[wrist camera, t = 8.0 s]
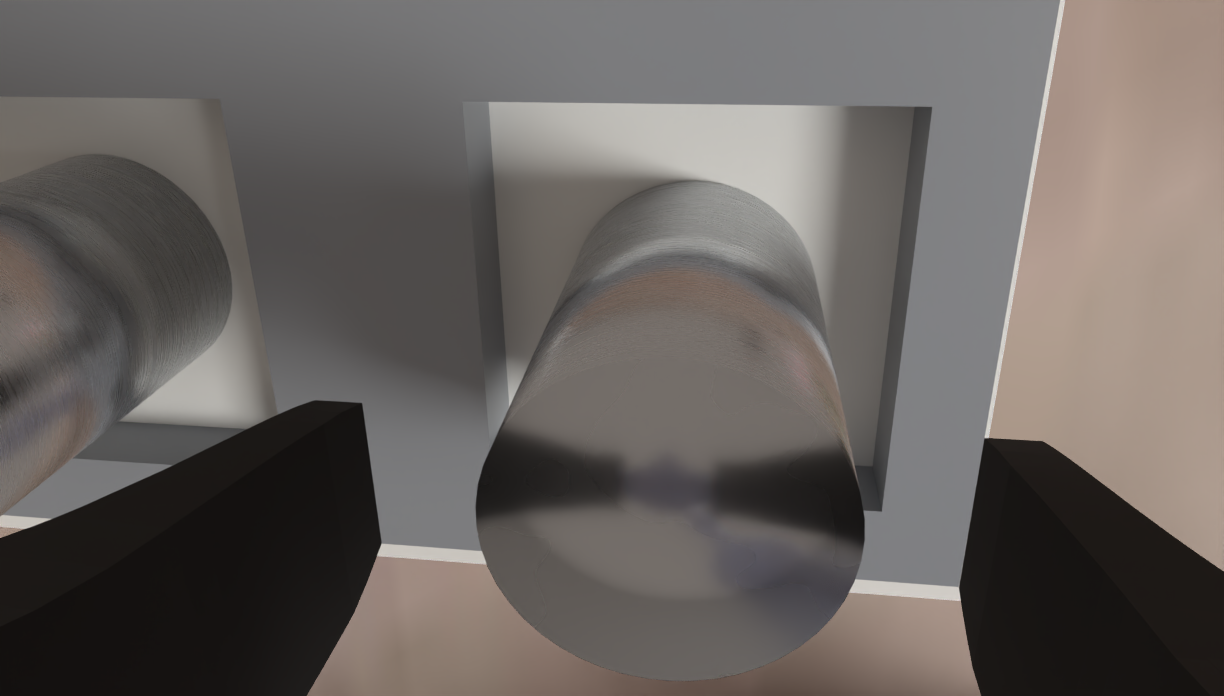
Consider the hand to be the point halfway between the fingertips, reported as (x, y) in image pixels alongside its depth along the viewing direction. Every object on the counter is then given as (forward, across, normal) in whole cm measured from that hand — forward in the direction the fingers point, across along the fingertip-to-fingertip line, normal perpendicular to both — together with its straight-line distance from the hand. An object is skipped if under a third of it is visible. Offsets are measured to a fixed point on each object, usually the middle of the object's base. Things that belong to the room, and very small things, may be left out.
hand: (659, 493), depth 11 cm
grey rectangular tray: (+8, +6, 0) cm, 9 cm away
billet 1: (+6, +11, 0) cm, 13 cm away
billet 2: (+6, 0, 0) cm, 7 cm away
